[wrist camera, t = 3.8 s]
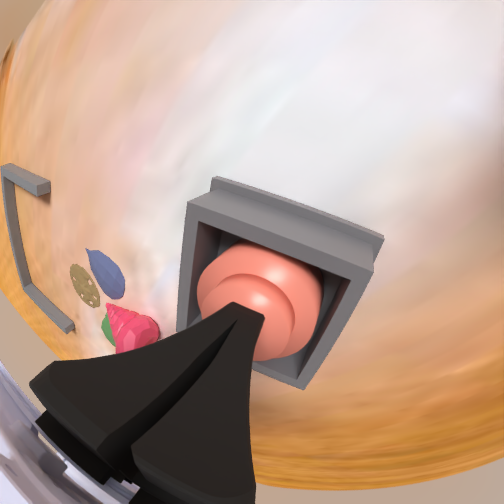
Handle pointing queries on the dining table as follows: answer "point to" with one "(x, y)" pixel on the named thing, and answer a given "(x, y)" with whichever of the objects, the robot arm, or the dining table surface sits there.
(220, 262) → the dome
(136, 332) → the toy pieces
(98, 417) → the robot arm
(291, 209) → the dome base
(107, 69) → the dining table surface
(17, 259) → the frame
